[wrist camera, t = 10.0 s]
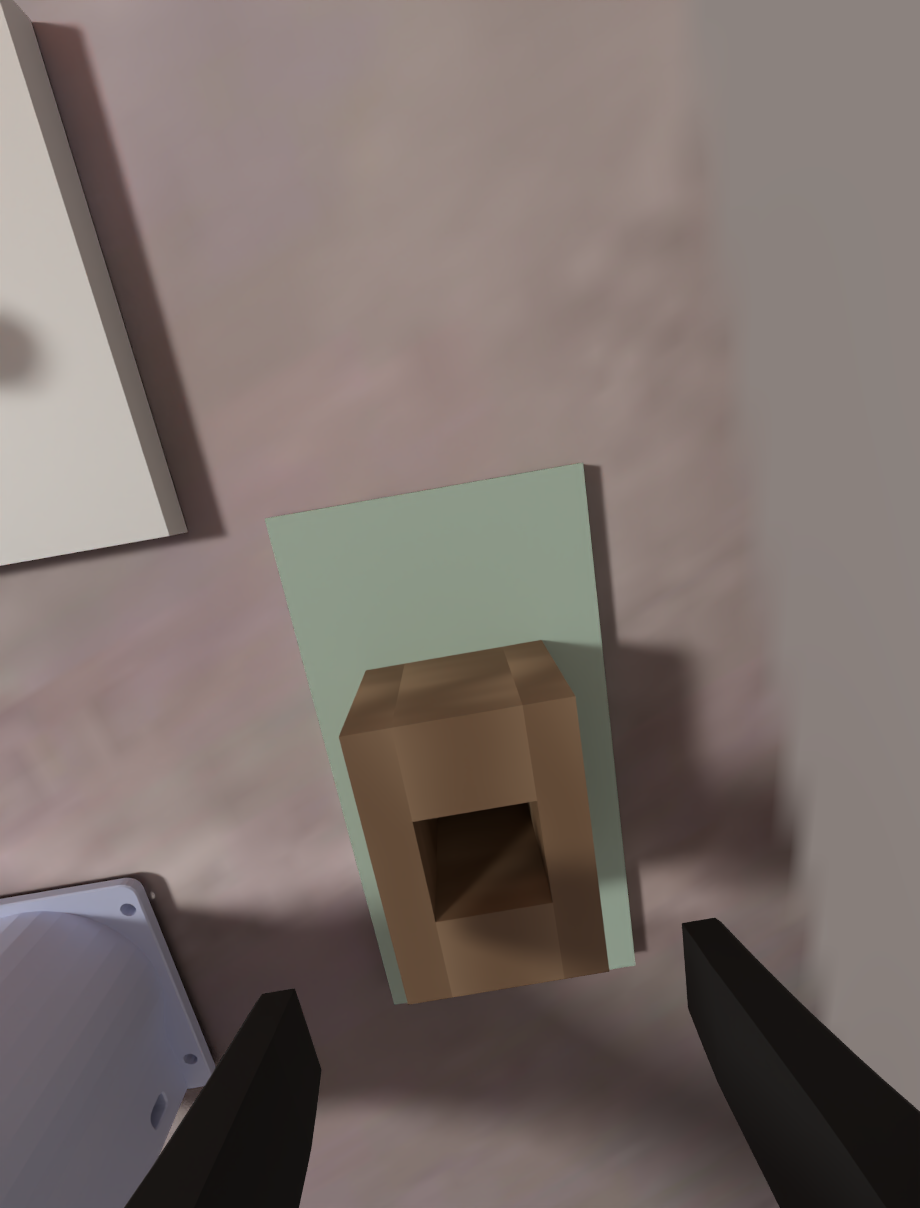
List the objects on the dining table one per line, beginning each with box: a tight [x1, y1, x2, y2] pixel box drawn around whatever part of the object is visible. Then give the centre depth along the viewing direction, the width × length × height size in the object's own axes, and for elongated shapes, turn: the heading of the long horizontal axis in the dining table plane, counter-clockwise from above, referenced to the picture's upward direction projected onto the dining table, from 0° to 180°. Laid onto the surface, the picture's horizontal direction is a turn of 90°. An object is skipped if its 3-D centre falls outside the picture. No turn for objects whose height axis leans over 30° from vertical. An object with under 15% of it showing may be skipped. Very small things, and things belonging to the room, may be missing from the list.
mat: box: [265, 463, 635, 1005], centre depth 16 cm, size 18×9×1 cm, turn 10°
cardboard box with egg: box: [339, 640, 609, 1005], centre depth 14 cm, size 5×8×4 cm
